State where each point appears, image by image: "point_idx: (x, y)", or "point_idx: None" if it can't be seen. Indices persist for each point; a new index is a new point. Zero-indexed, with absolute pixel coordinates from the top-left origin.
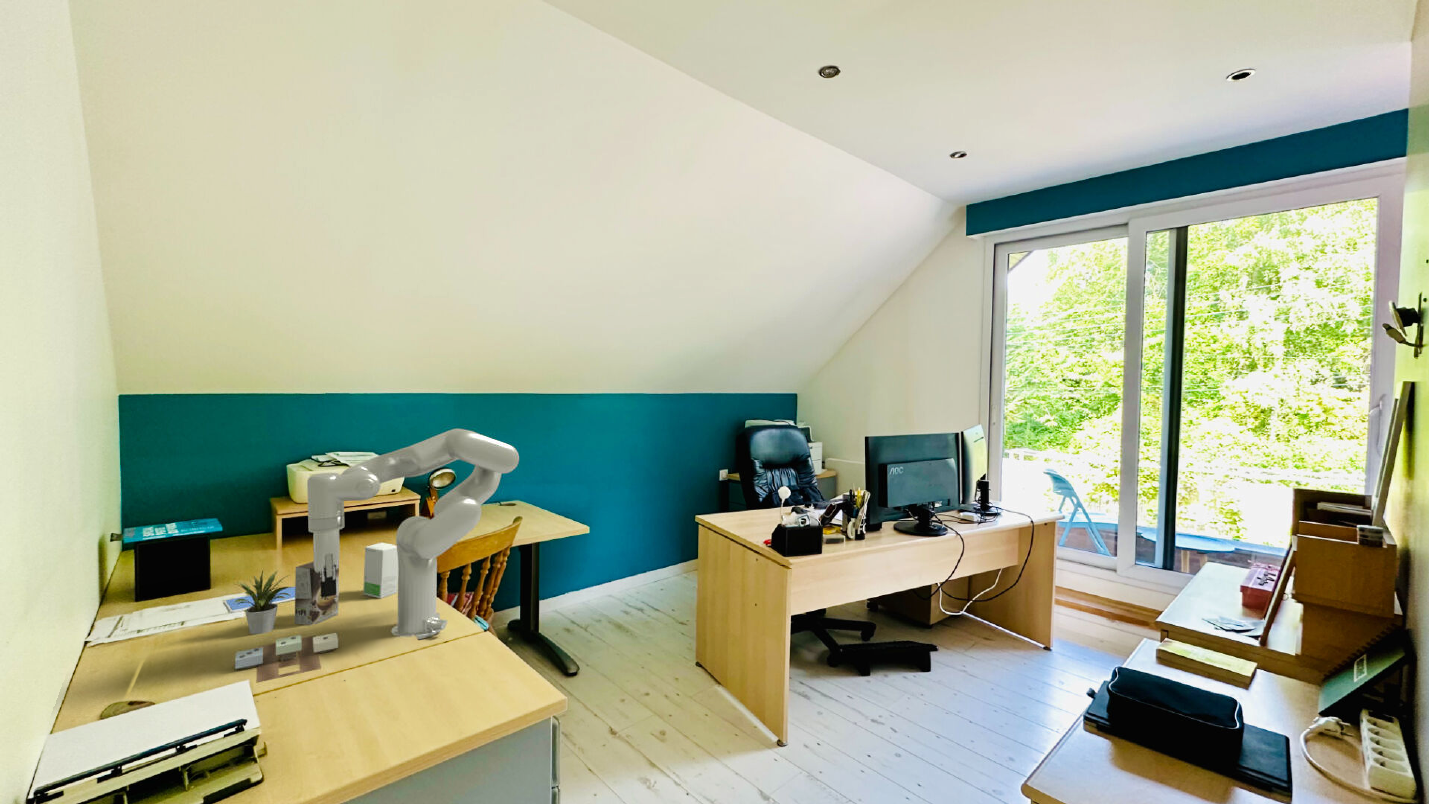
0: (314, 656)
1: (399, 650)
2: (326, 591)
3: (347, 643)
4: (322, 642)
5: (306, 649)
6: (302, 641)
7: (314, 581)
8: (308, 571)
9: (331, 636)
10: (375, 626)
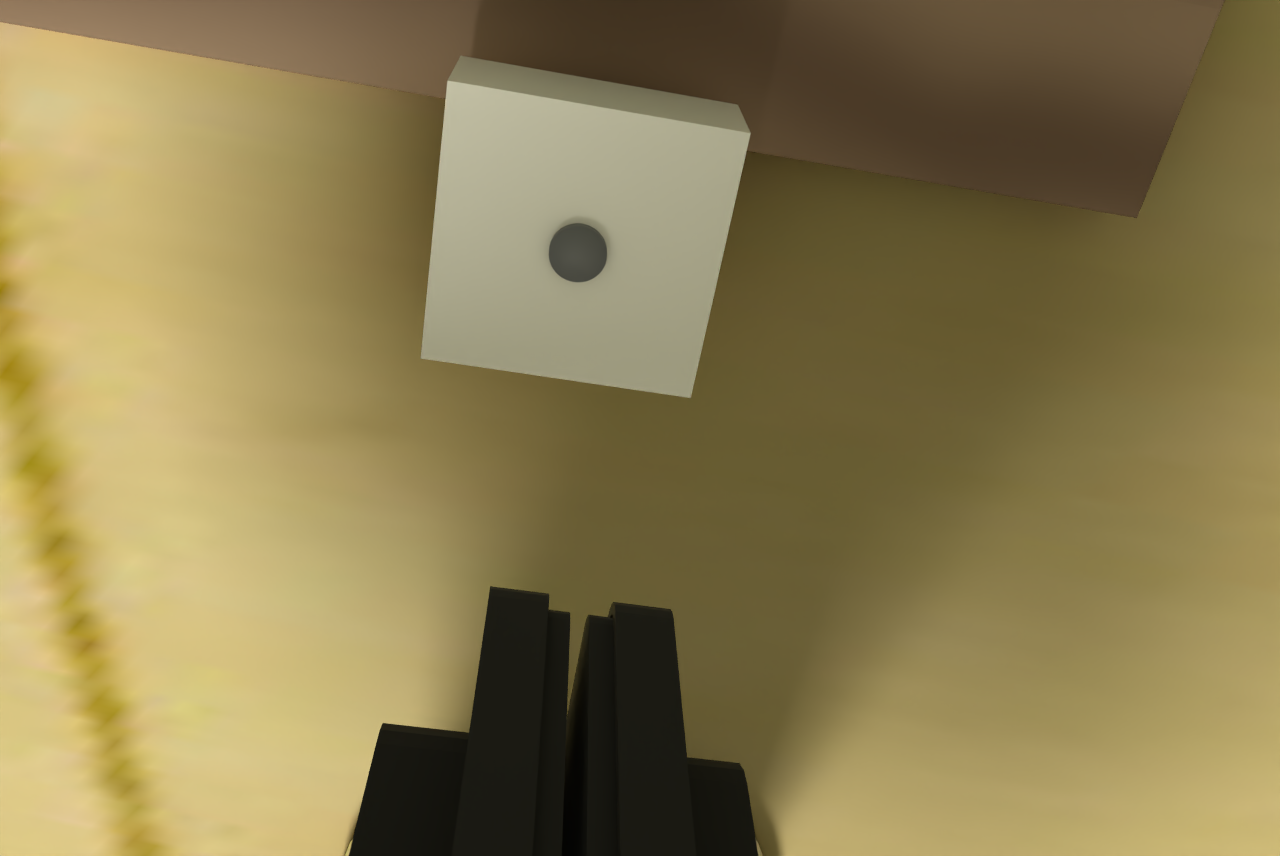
0: (434, 46)
1: (201, 707)
2: (372, 783)
3: (727, 427)
4: (448, 187)
5: (748, 22)
6: (1074, 46)
7: None
8: None
9: (594, 325)
10: (970, 710)
